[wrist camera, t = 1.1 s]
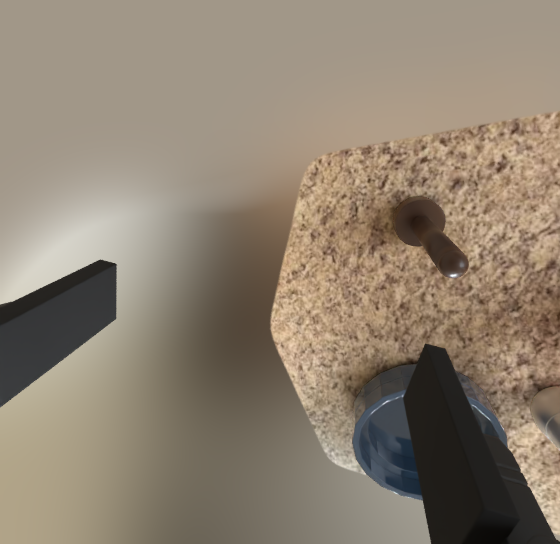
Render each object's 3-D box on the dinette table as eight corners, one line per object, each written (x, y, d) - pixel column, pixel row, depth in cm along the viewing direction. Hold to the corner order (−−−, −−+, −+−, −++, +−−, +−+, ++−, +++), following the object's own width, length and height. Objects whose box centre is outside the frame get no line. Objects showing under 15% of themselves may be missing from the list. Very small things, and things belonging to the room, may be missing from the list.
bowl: (485, 353, 43) (503, 381, 38) (494, 462, 48) (511, 500, 43) (341, 367, 48) (340, 394, 43) (364, 466, 53) (366, 501, 48)
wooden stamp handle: (437, 191, 38) (495, 226, 23) (442, 235, 39) (499, 296, 24) (389, 201, 39) (413, 241, 24) (396, 244, 41) (422, 306, 25)
